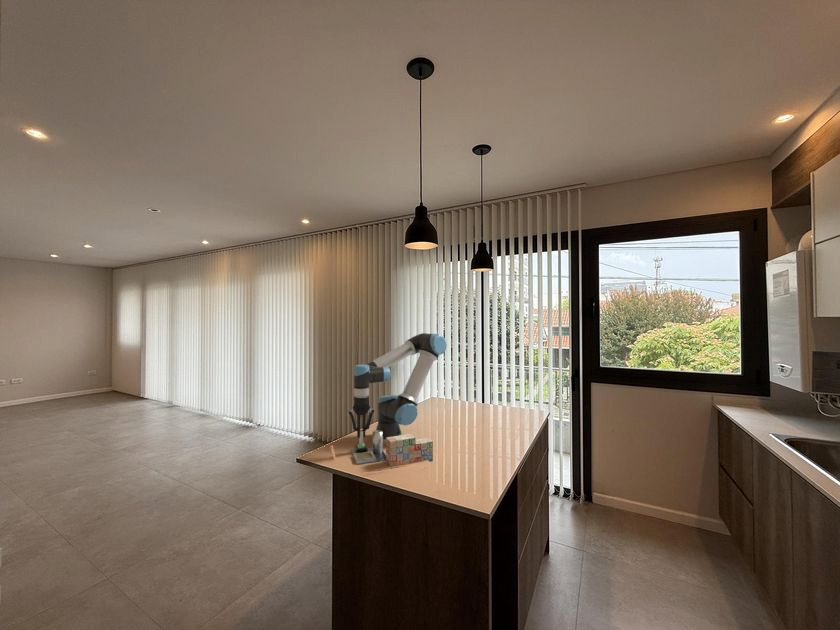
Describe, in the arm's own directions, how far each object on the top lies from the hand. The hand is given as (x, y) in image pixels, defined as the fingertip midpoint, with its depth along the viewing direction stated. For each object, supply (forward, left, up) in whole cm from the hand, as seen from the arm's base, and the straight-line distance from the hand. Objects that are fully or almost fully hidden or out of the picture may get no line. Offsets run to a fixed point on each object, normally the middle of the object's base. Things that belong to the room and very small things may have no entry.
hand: (361, 443), depth 167 cm
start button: (0, 0, -3) cm, 3 cm away
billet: (-8, +3, -4) cm, 9 cm away
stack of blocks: (-20, +18, -5) cm, 27 cm away
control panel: (-3, +6, -5) cm, 8 cm away
